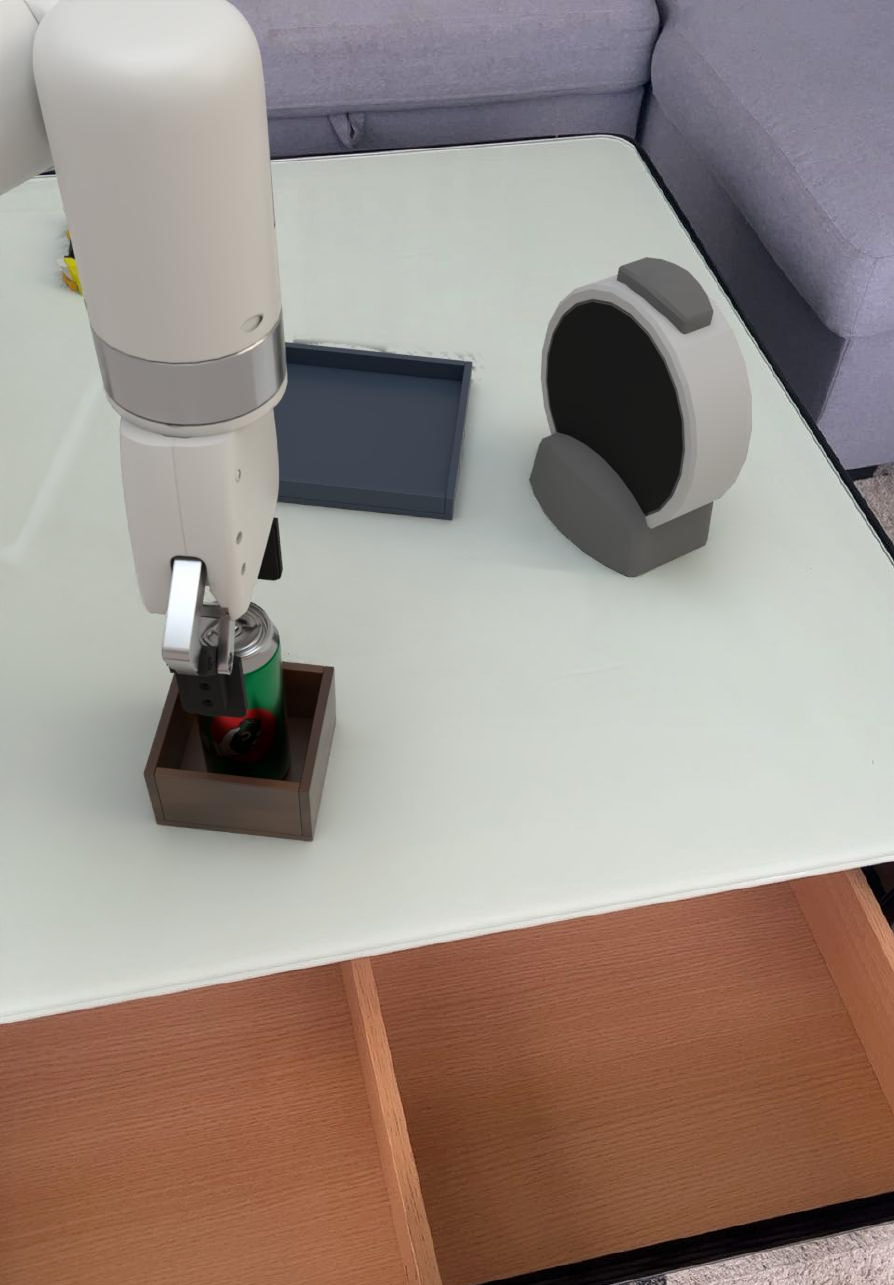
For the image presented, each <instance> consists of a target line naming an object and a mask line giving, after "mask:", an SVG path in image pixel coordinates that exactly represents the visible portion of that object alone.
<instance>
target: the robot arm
mask: <svg viewBox="0 0 894 1285" xmlns="http://www.w3.org/2000/svg"><path fill="white" fill-rule="evenodd" d="M266 97H267V95H266V83H265V76H264V68H263V60H262V54H261V50H260V47H259V43H258V39H257V37H256V35H255V32H254V31H253V29H252V27H251V25H250V23H249V22H248V20H247V19H246V18H245V16H244V15H243V13H242V12H241V11H240V10H239V9H238V8H237V7H236V6H234V5H233V4H232V3H230V2H229V1H228V0H0V197H1V196H3V195H5V194H6V193H8V192H10V191H12V190H15V188H17V187H19V186H21V185H23V184H24V183H26V182H28V181H30V180H32V179H33V178H35V177H37V176H39V175H41V174H44V173H47V172H50V171H53V170H54V172H55V176H56V180H57V185H58V189H59V194H60V198H61V202H62V208H63V207H64V211H63V213H64V212H65V213H64V216H65V220H66V223H67V230H68V229H69V233H70V238H71V242H72V247H73V251H74V256H75V261H76V265H77V270H78V274H79V279H80V284H81V288H82V293H83V295H82V296H83V301H84V306H85V310H86V314H87V317H88V322H89V327H90V332H91V337H92V341H93V346H94V349H95V355H96V358H97V362H98V367H99V372H100V377H101V380H102V386H103V391H104V395H105V398H106V399H107V402H108V403H109V405H110V407H111V408H112V410H114V411H115V412H116V413H117V414H118V416H120V422H119V454H120V455H119V456H120V457H119V458H120V469H121V484H122V491H123V499H124V509H125V514H126V515H125V516H126V521H127V528H128V534H129V540H130V546H131V553H132V559H133V564H134V569H135V576H136V580H137V581H136V582H137V586H138V592H139V596H140V600H141V603H142V605H143V606H144V608H145V610H146V611H147V612H148V613H149V614H157V615H163V616H165V623H164V628H163V636H162V643H161V659H162V661H163V662H164V663H165V664H166V666H167V667H168V670H169V673H170V674H174V673H175V676H176V681H177V685H178V690H179V694H180V699H181V704H182V708H183V709H184V710H185V711H186V712H189V713H196V714H201V715H205V716H226V717H235V718H243V717H245V716H246V714H247V710H248V701H247V694H246V687H245V681H244V674H243V667H242V660H241V657H238V656H236V655H234V638H235V620H237V619H238V618H240V617H241V616H242V615H243V614H244V613H245V612H246V611H247V609H248V607H249V605H250V602H252V598H253V594H254V592H255V589H256V584H257V581H258V580H263V581H273V582H275V581H277V580H280V579H281V578H282V575H283V571H284V566H283V555H282V544H281V536H280V534H281V533H280V523H279V517H275V513H276V508H277V503H278V501H277V498H278V490H279V461H278V447H277V436H276V427H275V418H274V410H273V408H274V407H275V406H276V405H277V404H278V403H279V401H280V400H281V399H282V397H283V395H284V393H285V390H286V386H287V365H286V350H285V342H286V338H285V327H284V326H285V325H284V313H283V303H282V291H281V279H280V263H279V252H278V251H279V250H278V237H277V226H276V214H275V202H274V201H275V200H274V188H273V176H272V162H271V148H270V137H269V136H270V135H269V123H268V122H269V121H268V111H267V110H268V109H267V98H266ZM206 587H209V593H210V594H211V595H212V597H213V598H214V599H215V601H217V602H218V603H213V601H204V598H205V593H206V592H205V591H206ZM201 617H206V618H216V619H219V627H218V647H215V646H205V645H201V644H200V642H199V629H200V621H201Z"/></svg>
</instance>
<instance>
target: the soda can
mask: <svg viewBox="0 0 894 1285" xmlns="http://www.w3.org/2000/svg"><path fill="white" fill-rule="evenodd" d="M212 602H213V603H218V602H217V601H216V600H213V601H212ZM218 627H219V619H216V618H206V617H201V621H200V629H199V642H200V644H201V645H205V646H215V647H218ZM281 648H282V646H281V636H280V633H279V630H278V628H277V626H276V625H275V623H274V622H273V621H272V620H271V618H270V616H269V614H268V613H267V612H266V611H265V609H264V608H262V607H261V606H260V605H258V604H256V602H255V603H254V602H253V601H251V602H250V605H249V607H248V609H247V611H246V612H245V613H244V614H243V615H242V616H241V617H240V618H238V619H237V620H235V638H234V655H236V656H238V657H241V660H242V667H243V674H244V681H245V687H246V694H247V701H248V710H247V714H246V716H245V717H243V718H235V717H226V716H205V715H201V714H196V718H197V724H198V729H199V734H200V739H201V744H202V750H203V755H204V760H205V765H206V769H207V772H208V773H216V774H225V775H234V776H243V777H252V778H261V779H270V780H281V779H282V778H283V777H284V775H285V774H286V772H287V770H288V768H289V765H290V760H291V755H290V744H289V733H288V722H287V711H286V700H285V689H284V678H283V667H282V661H283V657H282V649H281Z"/></svg>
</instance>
